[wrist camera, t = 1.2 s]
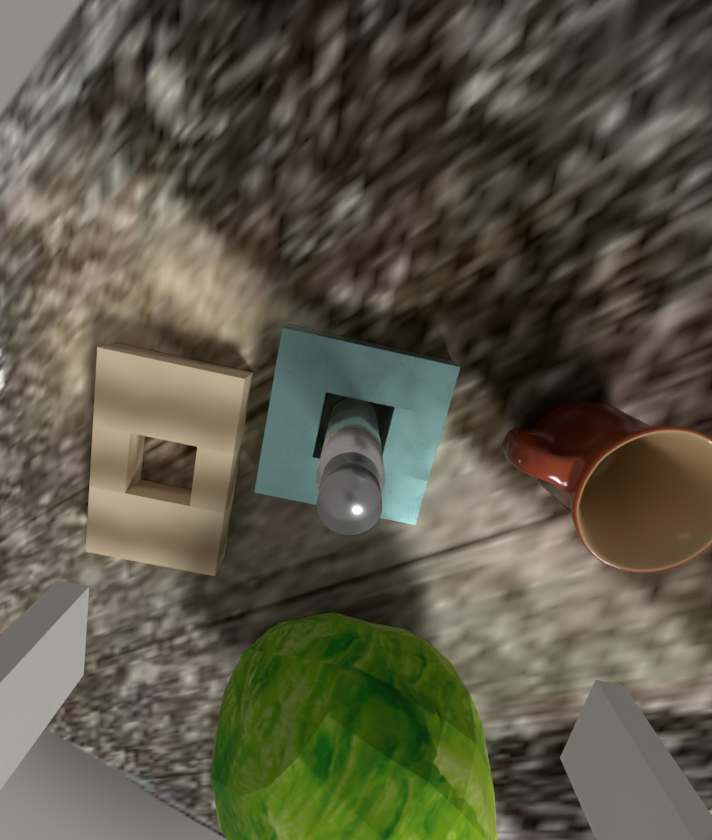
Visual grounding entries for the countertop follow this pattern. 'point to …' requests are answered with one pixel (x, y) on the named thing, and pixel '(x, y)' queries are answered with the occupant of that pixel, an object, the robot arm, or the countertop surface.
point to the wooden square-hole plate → (173, 421)
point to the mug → (622, 482)
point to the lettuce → (349, 739)
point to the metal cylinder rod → (351, 469)
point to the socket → (361, 379)
